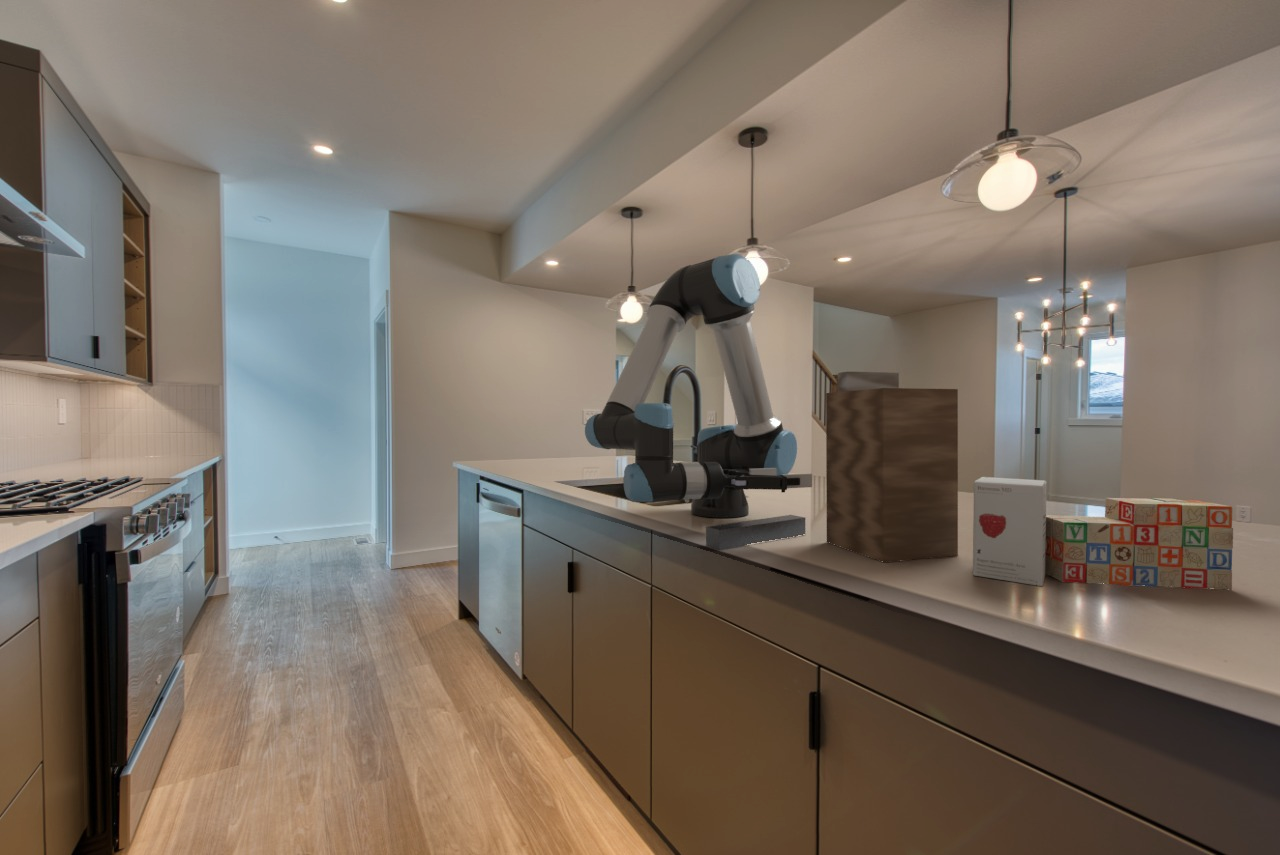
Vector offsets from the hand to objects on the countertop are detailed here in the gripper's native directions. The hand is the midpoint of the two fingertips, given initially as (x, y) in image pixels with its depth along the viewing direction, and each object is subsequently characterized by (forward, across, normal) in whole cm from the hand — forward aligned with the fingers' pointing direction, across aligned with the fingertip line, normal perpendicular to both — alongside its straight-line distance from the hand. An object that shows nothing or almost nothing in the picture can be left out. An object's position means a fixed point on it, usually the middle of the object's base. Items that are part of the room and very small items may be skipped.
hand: (792, 476), depth 113 cm
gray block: (-9, +4, -11) cm, 15 cm away
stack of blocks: (+31, +43, -13) cm, 55 cm away
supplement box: (+16, +36, -13) cm, 41 cm away
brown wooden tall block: (+11, +16, -12) cm, 23 cm away
